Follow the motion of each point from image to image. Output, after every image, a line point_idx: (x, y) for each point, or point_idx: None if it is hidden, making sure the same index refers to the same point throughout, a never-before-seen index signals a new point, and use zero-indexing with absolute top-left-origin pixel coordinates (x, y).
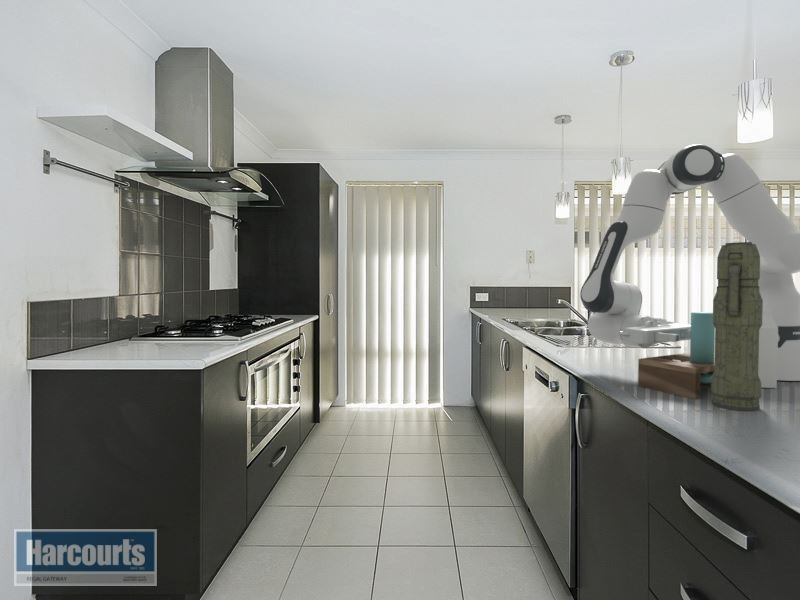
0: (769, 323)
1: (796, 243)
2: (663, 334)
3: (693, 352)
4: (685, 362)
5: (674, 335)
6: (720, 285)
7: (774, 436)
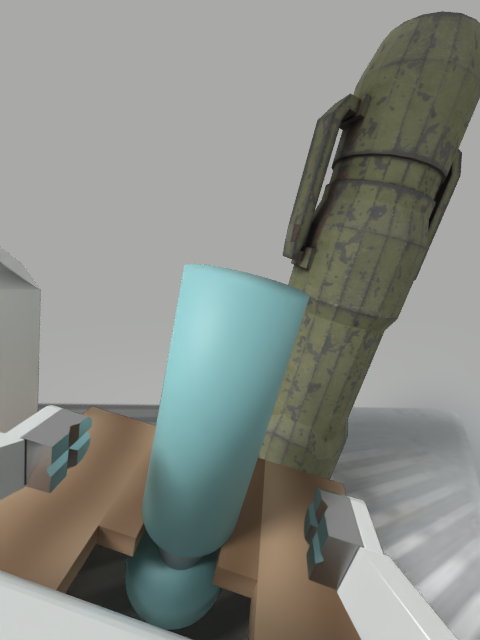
0: (3, 251)
1: None
2: (420, 607)
3: (246, 490)
4: (261, 560)
5: (361, 500)
6: (433, 199)
7: (374, 418)
